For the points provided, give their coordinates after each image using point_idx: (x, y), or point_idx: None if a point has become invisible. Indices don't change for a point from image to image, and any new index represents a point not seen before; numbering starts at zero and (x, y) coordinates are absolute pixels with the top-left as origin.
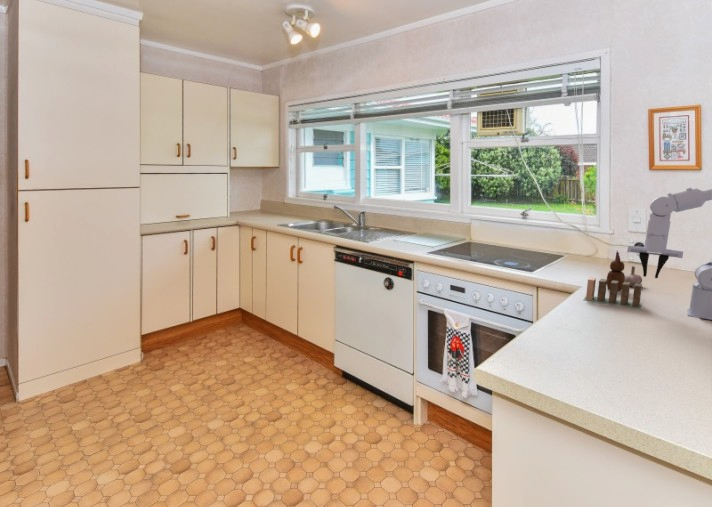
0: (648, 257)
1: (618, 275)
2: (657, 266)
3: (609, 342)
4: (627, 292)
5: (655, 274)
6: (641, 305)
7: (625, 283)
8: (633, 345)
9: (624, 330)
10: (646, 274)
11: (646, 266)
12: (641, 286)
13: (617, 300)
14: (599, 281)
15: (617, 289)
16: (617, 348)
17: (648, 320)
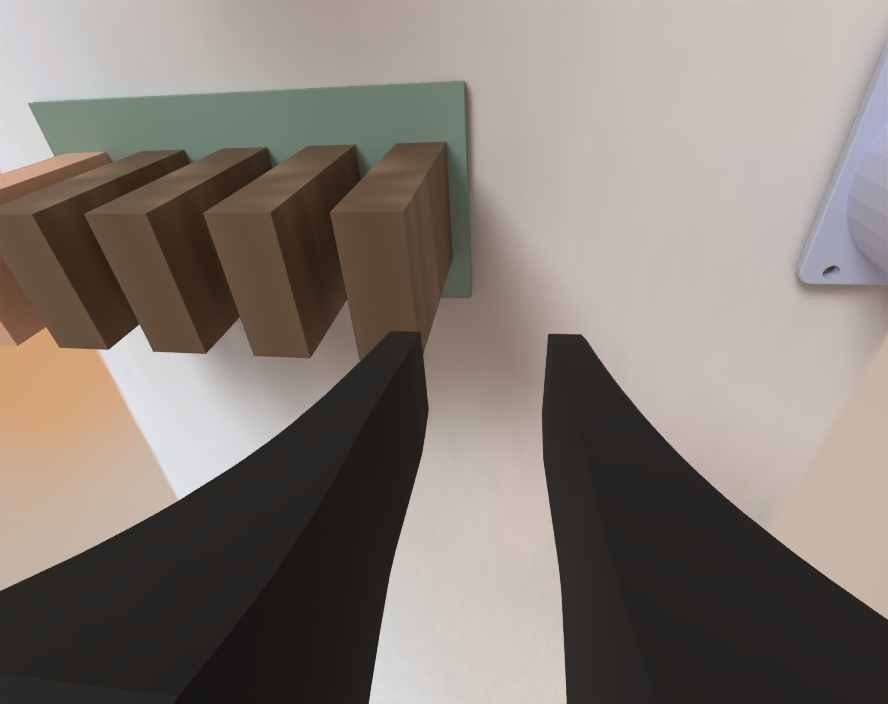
0: (285, 662)
1: None
2: (564, 627)
3: (440, 668)
4: (334, 314)
5: (545, 467)
6: (464, 172)
7: (259, 308)
8: (497, 669)
9: (456, 596)
10: (416, 342)
11: (387, 575)
12: (415, 280)
13: (266, 118)
14: (65, 345)
15: (210, 188)
16: (465, 687)
17: (528, 468)
